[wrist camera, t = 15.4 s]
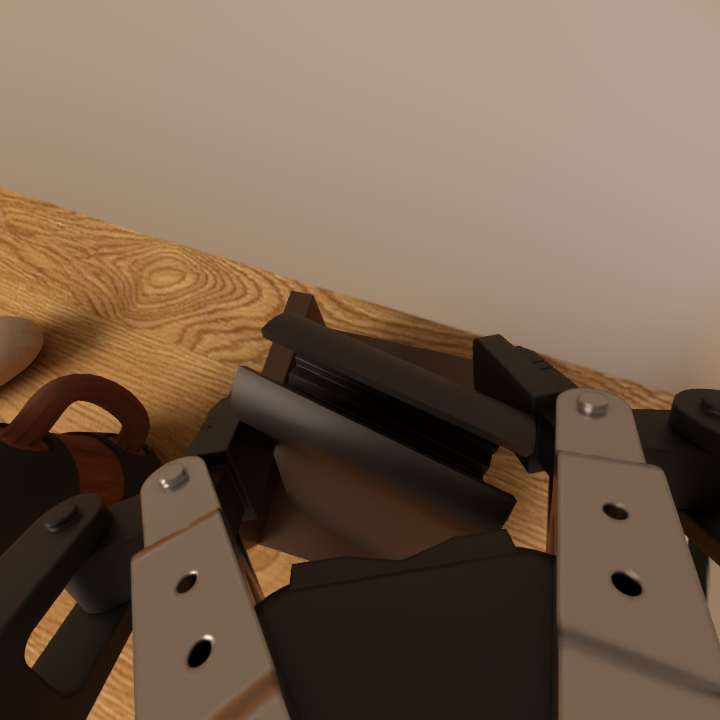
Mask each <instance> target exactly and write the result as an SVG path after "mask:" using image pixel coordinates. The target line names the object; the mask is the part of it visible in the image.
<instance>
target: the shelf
mask: <svg viewBox="0 0 720 720" xmlns="http://www.w3.org/2000/svg"><path fill="white" fill-rule="evenodd" d="M285 312H293V313H295V314H298V315H300V316H302V317H305V318H307V319H309V320H312V321H314V322H316V323H319V324H321V325H323V326H326V325H325V322H324V320H323V317H322V315H321V313H320V310H319V308H318V305H317V303H316V300H315V298H314V296H313V295H311V294H306V293H301V292H296V291H291V293H290V296H289V298H288V301H287V304H286V307H285V309H284V312H283V313H285ZM333 330H334V329H333ZM335 331H337V332H340V333H342V334H344V335H347V336H349V337H351V338H354V339H356V340H358V341H360V342H363V343H365V344H367V345H370V346H372V347H374V348H377V349H379V350H381V351H384V352H386V353H388V354H391V355H393V356H395V357H398V358H400V359H402V360H405V361H407V362H409V363H412V364H414V365H416V366H419V367H421V368H423V369H426V370H428V371H430V372H433V373H435V374H437V375H439V376H442V377H444V378H446V379H449V380H451V381H453V382H456V383H458V384H460V385H463V386H465V387H467V388H470V389H472V390H474V391H475V388H474V377H473V359H469V358H465V357H460V356H455V355H451V354H446V353H441V352H437V351H432V350H427V349H423V348H418V347H414V346H409V345H404V344H400V343H395V342H390V341H386V340H381V339H376V338H372V337H367V336H362V335H358V334H353V333H348V332H344V331H339V330H335ZM297 354H298V353H296V352H294V351H292V350H290V349H288V348H285V347H283V346H281V345H279V344H277V343H274V342H273V343H272V345H271V348H270V351H269V354H268V357H267V359H266V362H265V365H264V368H263V370H262V373H261V374H263V375H265V376H267V377H269V378H271V379H273V380H275V381H278V382H280V383H282V384H284V385H286V384H287V383H288V380H289V373H290V372H291V370H292V369H293V368H294V367H295V366H296V365H297V363H296V358H295V357H296V355H297ZM238 533H239V535H240V537H241V539H242V541H243V544H244V546H245V549H246V550H248V549H250V548H252V547H254V546H256V545H258V544H259V545H263V546H266V547H269V548H272V549H275V550H278V551H281V552H284V553H287V554H290V555H293V556H296V557H299V558H303V559H306V560H309V561H315V560H321V559H327V558H333V557H339V556H353V557H364V558H376V559H382V558H381V557H379V556H377V555H375V554H374V553H372V552H370V551H368V550H367V549H365V548H363V547H361V546H360V545H358V544H356V543H354V542H352V541H351V540H349V539H347V538H345V537H344V536H342V535H340V534H338V533H337V532H335V531H333V530H331V529H330V528H328V527H326V526H324V525H323V524H321V523H319V522H317V521H316V520H314V519H312V518H310V517H308V516H307V515H305V514H303V513H301V512H300V511H298V510H296V509H294V508H293V507H291V505H290V502H289V499H288V496H287V493H286V490H285V487H284V484H283V481H282V478H281V475H280V472H279V469H278V466H277V463H276V460H275V457H274V454H273V458H272V462H271V466H270V470H269V474H268V478H267V482H266V486H265V490H264V494H263V498H262V502H261V506H260V511H259V515H258V519H254V520H248V521H242V522H241V524H240V528H239V531H238ZM453 537H459V535H457V534H455V535H454V536H452V537H451V538H453ZM451 538H449V539H451Z"/></svg>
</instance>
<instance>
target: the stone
mask: <svg viewBox="0 0 720 720" xmlns="http://www.w3.org/2000/svg"><path fill="white" fill-rule="evenodd" d="M42 345H43V332H42V330H41V328H40V327H39V326H38V325H37V324H36V323H34V322H33V321H30V320H28V319H25V318H21V317H11V316H9V317H0V386H2V385H3V384H5V383H6V382H8V381H9V380H11V379H12V378H13V377H15V376H16V375H17V374H19V373H20V372H21V371H23V370H24V369H25V368H26V367H28V366H29V365H30V364H31V362H32V361H33V360H34V359H35V358H36V356H37V355H38V353H39V352H40V350H41V348H42Z"/></svg>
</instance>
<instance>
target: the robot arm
mask: <svg viewBox="0 0 720 720" xmlns="http://www.w3.org/2000/svg"><path fill="white" fill-rule="evenodd" d="M473 377H474V388H475V391H477V392H479V393H481V394H484V395H486V396H488V397H491V398H493V399H495V400H498V401H500V402H502V403H505V404H507V405H509V406H512V407H514V408H516V409H519V410H521V411H523V412H525V413H528V414H530V415H531V416H532V417H533V419H534V421H535V427H536V436H535V445H534V451H533V453H532V454H530V455H529V456H528V457H524V456H521V455H519V454H517V453H515V452H514V453H515V455H516V456H517V458H518V459H519V460H520V462H521V463H522V465H523V466H524V468H525V469H526V471H527V472H528V474H530V473H536V472H542V471H546V473H547V474H548V475H549V484H548V508H547V536H546V553H545V552H542V551H539V550H534V549H529V548H524V547H515V545H514V543H513V541H512V539H511V537H510V535H509V533H508V531H507V529H501V530H495V531H489V532H483V533H477V534H471V535H465V536H459V537H453V538H451V539H448V540H446V541H444V542H442V543H439V544H437V545H435V546H433V547H430V548H428V549H426V550H424V551H421V552H419V553H417V554H415V555H412V556H410V557H408V558H406V559H403V560H387V559H376V558H364V557H353V556H339V557H333V558H327V559H321V560H315V561H309V562H303V563H297V564H292V568H291V576H290V584H289V585H286V586H284V587H282V588H280V589H279V590H277V591H275V592H274V593H272V594H270V595H269V596H267V597H266V598H265V597H264V595H263V592H262V590H261V587H260V584H259V582H258V579H257V577H256V574H255V572H254V569H253V567H252V564H251V562H250V559H249V556H248V554H247V551H246V549H245V546H244V544H243V541H242V539H241V537H240V535H239V533H238V531H239V528H240V524H241V522H242V521H248V520H254V519H258V515H259V511H260V506H261V502H262V498H263V494H264V490H265V486H266V482H267V478H268V474H269V470H270V466H271V462H272V458H273V454H274V450H275V445H274V444H273V442H272V441H271V439H270V438H269V436H268V435H267V434H265V433H263V432H261V431H259V430H257V429H255V428H253V427H251V426H249V425H248V424H246V423H244V422H242V421H240V420H238V419H237V418H236V417H235V415H234V414H233V411H232V406H231V393H232V390H231V392H230V394H229V396H228V397H227V398H223V399H222V400H220V401H219V402H218V403H217V404H216V405H215V406H214V407H212V408H211V410H210V411H209V413H208V415H207V416H206V418H205V421H204V422H203V423H202V425H201V427H200V430H199V431H198V432H197V433H196V435H195V437H194V439H193V440H192V442H191V444H190V445H189V447H188V449H187V451H186V452H185V454H184V456H183V457H182V458H178V459H175V460H173V461H171V462H169V463H167V464H165V465H163V466H162V467H160V468H159V469H157V470H156V471H155V472H153V473H152V474H151V475H150V476H149V477H148V478H147V479H146V481H145V482H144V484H143V485H142V488H141V492H140V494H139V495H136V496H134V497H131V498H128V499H126V500H123V501H121V502H118V503H116V504H113V505H111V506H107V505H106V504H105V502H104V501H103V499H102V498H101V496H100V495H99V494H96V493H85V494H80V495H77V496H74V497H72V498H69V499H67V500H65V501H63V502H61V503H59V504H58V505H56V506H54V507H53V508H51V509H50V510H48V511H47V512H46V513H44V514H43V515H42V516H41V517H39V518H38V519H37V520H36V521H35V522H34V523H33V524H32V525H31V526H30V527H29V528H28V529H27V530H26V531H25V532H24V533H23V534H22V535H21V536H20V537H19V538H18V539H17V540H16V541H15V542H14V543H13V544H12V545H11V546H10V547H9V548H8V549H7V550H6V551H5V552H4V553H3V555H2V556H1V557H0V720H86V718H87V716H88V715H89V713H90V711H91V709H92V707H93V705H94V703H95V701H96V699H97V697H98V695H99V693H100V691H101V690H102V688H103V686H104V684H105V682H106V680H107V678H108V676H109V674H110V672H111V670H112V668H113V667H114V665H115V663H116V661H117V659H118V657H119V655H120V653H121V651H122V649H123V647H124V645H125V643H126V642H127V640H128V638H129V636H130V634H131V632H132V630H133V663H134V700H135V720H720V643H719V640H718V637H717V633H716V630H715V627H714V624H713V622H712V618H711V615H710V612H709V609H708V606H707V603H706V600H705V596H704V593H703V590H702V587H701V584H700V581H699V578H698V575H697V572H696V569H695V566H694V563H693V559H692V556H691V553H690V550H689V547H688V544H687V541H686V538H685V535H686V536H687V537H688V538H689V539H690V540H691V541H692V542H694V543H695V544H696V545H697V546H698V547H699V548H700V549H701V550H702V551H704V552H705V553H706V554H707V555H708V556H709V557H710V558H711V559H712V560H713V561H715V562H716V563H717V564H718V565H719V566H720V390H713V389H690V390H685V391H682V392H679V393H678V394H676V395H675V397H674V400H673V404H672V407H671V410H652V409H631V407H630V405H629V404H628V403H627V402H626V401H625V400H624V399H623V398H621V397H619V396H617V395H615V394H613V393H610V392H607V391H604V390H599V389H593V388H579V387H578V386H576V385H575V384H574V383H573V382H571V381H570V380H569V379H568V378H566V377H565V376H564V375H563V374H561V373H560V372H559V371H558V370H557V369H555V368H554V369H553V366H552V365H550V364H549V363H548V362H547V361H546V362H545V361H544V359H543V358H542V357H540V356H539V355H538V354H537V353H535V352H534V351H531V350H529V349H526V348H523V347H521V346H516V347H514V346H513V345H512V344H510V343H509V342H508V341H507V340H506V339H504V337H502V336H501V335H499V334H496V335H491V336H485V337H480V338H475V339H474V340H473ZM684 534H685V535H684ZM64 588H65V590H66V591H67V592H68V593H69V594H70V595H71V596H72V597H73V598H74V600H75V601H76V602H77V603H76V605H75V606H74V607H73V609H72V610H71V612H70V613H69V615H68V616H67V618H66V619H65V620H64V622H63V623H62V625H61V626H60V628H59V629H58V631H57V632H56V634H55V635H54V636H53V638H52V639H51V641H50V642H49V644H48V645H47V647H46V648H45V649H44V651H43V652H42V654H41V655H40V657H39V658H38V660H37V661H36V663H35V664H34V665H33V667H32V668H30V667H29V666H28V665H27V664H26V661H25V647H26V644H27V641H28V639H29V637H30V635H31V633H32V631H33V630H34V628H35V627H36V626H37V624H38V623H39V622H40V620H41V619H42V618H43V616H44V615H45V614H46V612H47V611H48V610H49V608H50V607H51V606H52V604H53V603H54V602H55V600H56V599H57V598H58V596H59V595H60V594H61V592H62V591H63V590H64Z"/></svg>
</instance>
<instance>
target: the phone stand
mask: <svg viewBox="0 0 720 720" xmlns="http://www.w3.org/2000/svg"><path fill="white" fill-rule="evenodd" d="M261 331H262V334H263V337H264V338H266V339H268V340H270V341H272V342H274V343H277V344H279V345H281V346H283V347H285V348H288V349H290V350H292V351H294V352H296V353H298V354H297V355H296V357H295V358H296V363H297V365H296V366H295V367H294V368H293V369H292V370H291V372H290V373H289V380H288V383H287V384H286V385H284V384H282V383H280V382H278V381H275V380H273V379H271V378H269V377H267V376H265V375H263V374H261V373H259V372H257V371H255V370H253V369H251V368H249V367H247V366H239V367H238V369H237V372H236V375H235V378H234V382H233V387H232V393H231V406H232V411H233V414H234V415H235V417H236V418H237V419H238V420H240V421H242V422H244V423H246V424H248V425H249V426H251V427H253V428H255V429H257V430H259V431H261V432H263V433H265V434H267V435H268V436H269V438H270V439H271V441H272V442H273V444H274V445H275V450H274V457H275V460H276V463H277V466H278V469H279V472H280V475H281V478H282V481H283V484H284V487H285V490H286V493H287V496H288V499H289V502H290V505H291V507H293V508H294V509H296V510H298V511H300V512H301V513H303V514H305V515H307V516H308V517H310V518H312V519H314V520H316V521H317V522H319V523H321V524H323V525H324V526H326V527H328V528H330V529H331V530H333V531H335V532H337V533H338V534H340V535H342V536H344V537H345V538H347V539H349V540H351V541H352V542H354V543H356V544H358V545H360V546H361V547H363V548H365V549H367V550H368V551H370V552H372V553H374V554H375V555H377V556H379V557H381V558H382V559H387V560H403V559H406V558H408V557H410V556H412V555H415V554H417V553H419V552H421V551H424V550H426V549H428V548H430V547H433V546H435V545H437V544H439V543H442V542H444V541H446V540H448V539H449V538H451V537H452V536H454V535H455V534H457V535H459V536H465V535H471V534H477V533H483V532H489V531H495V530H500V529H501V528H502V527H503V525H504V524H505V522H506V520H507V519H508V517H509V515H510V513H511V512H512V510H513V508H514V506H515V504H516V502H517V501H516V499H515V498H514V496H513V495H511V494H509V493H507V492H505V491H503V490H501V489H498V488H496V487H494V486H492V485H490V484H488V483H486V482H484V481H483V476H484V474H485V473H486V472H487V470H488V469H489V467H490V462H491V458H492V455H493V454H494V453H495V452H497V451H498V448H499V445H500V446H502V447H504V448H506V449H508V450H511V451H513V452H515V453H517V454H519V455H521V456H524V457H528V456H529V455H530V454H532V453H533V451H534V445H535V436H536V427H535V421H534V419H533V417H532V416H531V415H530V414H528V413H525V412H523V411H521V410H519V409H516V408H514V407H512V406H509V405H507V404H505V403H502V402H500V401H498V400H495V399H493V398H491V397H488V396H486V395H484V394H481V393H479V392H477V391H474V390H472V389H470V388H467V387H465V386H463V385H460V384H458V383H456V382H453V381H451V380H449V379H446V378H444V377H442V376H439V375H437V374H435V373H433V372H430V371H428V370H426V369H423V368H421V367H419V366H416V365H414V364H412V363H409V362H407V361H405V360H402V359H400V358H398V357H395V356H393V355H391V354H388V353H386V352H384V351H381V350H379V349H377V348H374V347H372V346H370V345H367V344H365V343H363V342H360V341H358V340H356V339H354V338H351V337H349V336H347V335H344V334H342V333H340V332H337V331H335V330H333V329H330V328H328V327H326V326H323V325H321V324H319V323H316V322H314V321H312V320H309V319H307V318H305V317H302V316H300V315H298V314H295V313H293V312H285V313H282V314H280V315H278V316H276V317H274V318H273V319H272V320H270V321H269V322H268V323H267V324H266V325H265V326H264V327H263V328H262V329H261Z"/></svg>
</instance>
